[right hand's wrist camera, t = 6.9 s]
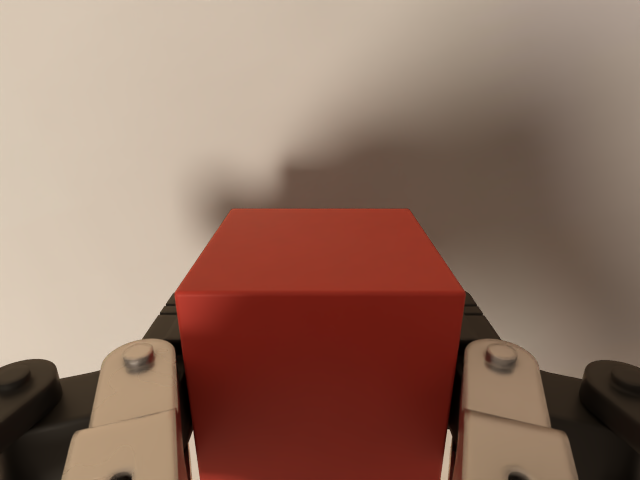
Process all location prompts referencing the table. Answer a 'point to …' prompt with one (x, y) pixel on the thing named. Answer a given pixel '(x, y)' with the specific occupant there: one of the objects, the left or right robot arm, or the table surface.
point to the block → (320, 346)
